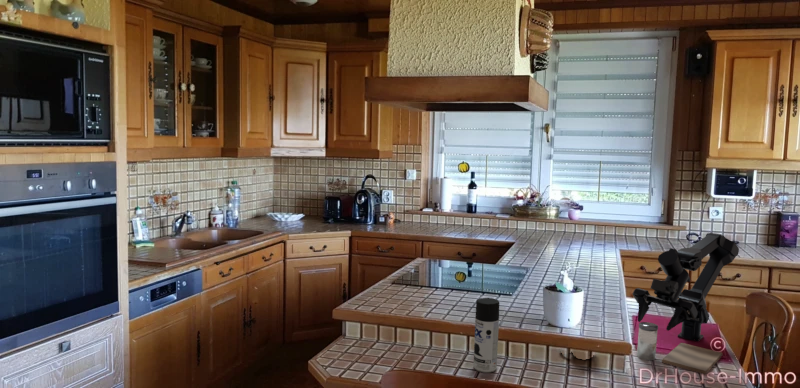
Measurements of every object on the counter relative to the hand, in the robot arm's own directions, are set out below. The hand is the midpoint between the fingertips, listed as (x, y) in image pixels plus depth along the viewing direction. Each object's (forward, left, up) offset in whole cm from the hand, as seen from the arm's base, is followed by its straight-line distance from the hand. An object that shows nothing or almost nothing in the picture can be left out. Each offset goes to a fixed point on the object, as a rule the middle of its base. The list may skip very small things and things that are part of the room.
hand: (652, 325), depth 185 cm
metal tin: (+2, 0, -9) cm, 10 cm away
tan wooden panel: (-6, +11, -9) cm, 15 cm away
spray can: (+43, -31, -10) cm, 55 cm away
